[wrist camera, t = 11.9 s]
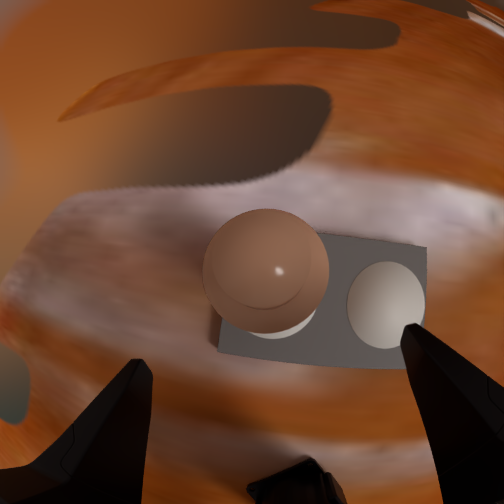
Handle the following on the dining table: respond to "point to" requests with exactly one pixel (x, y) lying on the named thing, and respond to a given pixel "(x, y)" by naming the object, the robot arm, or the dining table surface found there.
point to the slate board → (349, 310)
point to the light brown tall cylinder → (265, 271)
